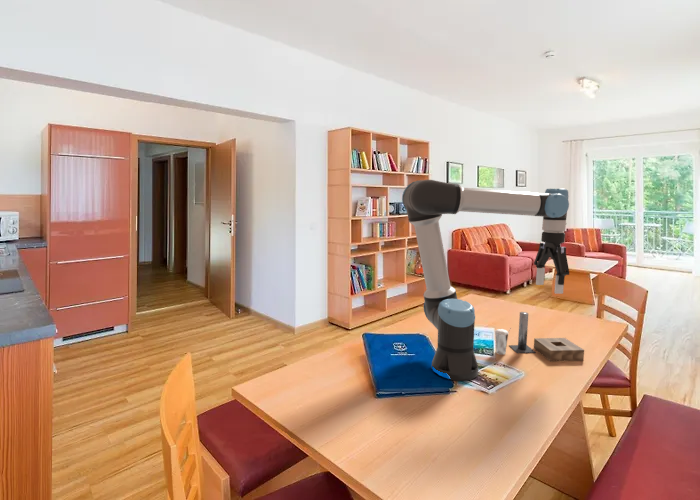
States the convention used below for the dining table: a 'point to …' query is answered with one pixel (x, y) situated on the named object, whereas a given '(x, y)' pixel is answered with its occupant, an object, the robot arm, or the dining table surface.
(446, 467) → the dining table surface
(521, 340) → the pin
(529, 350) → the mat
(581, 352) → the hole block
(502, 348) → the milkshake
